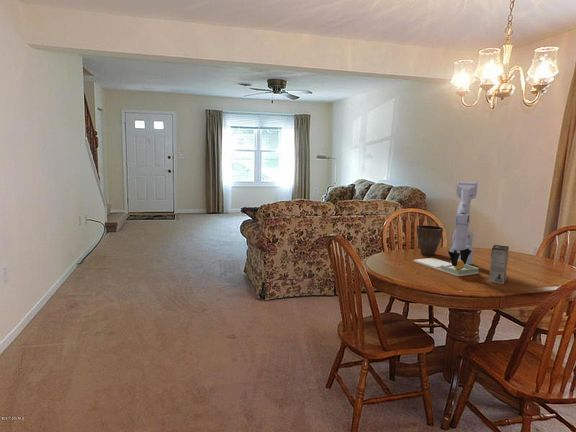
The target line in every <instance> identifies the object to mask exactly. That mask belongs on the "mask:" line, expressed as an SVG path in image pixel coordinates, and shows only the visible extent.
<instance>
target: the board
mask: <svg viewBox="0 0 576 432" xmlns="http://www.w3.org/2000/svg"><path fill="white" fill-rule="evenodd" d="M413 263H417V264H419V265H421V266H426V267H428V268H432V269H434V270H438V271H440V272H443V273H446V274H449V275H452V276H455V277H463V276H470V275H478V274H479V270H480V268H479V267H476V266H472V265H471V264H469V265H467V264H464V267H463V269H461V270H457V269H455V268H454V266H453V265H452V263H451V262H450V261H444V260H442V259H438V258H435V257H430V258H428V257H427V258H419V259H418V258H417V259H413Z"/></svg>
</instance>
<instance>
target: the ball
mask: <svg viewBox="0 0 576 432" xmlns="http://www.w3.org/2000/svg"><path fill="white" fill-rule="evenodd" d="M463 267H464V262H463V261H461V260H458V262H457V266H454V268H455V269H457V270H461V269H463Z"/></svg>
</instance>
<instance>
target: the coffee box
mask: <svg viewBox="0 0 576 432" xmlns="http://www.w3.org/2000/svg"><path fill="white" fill-rule="evenodd" d="M509 247H510V246H509V245H508V246H507V245H499V244H494V245H493V246H492V248H491V255H490V256H491V257H490V266H489V276H488V277H489V278H488V282H489V283H494V284H499V285H504V284H505V282H506V279H507V277H506V275H507V267H508V257H509V249H510V248H509Z"/></svg>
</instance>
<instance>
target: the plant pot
mask: <svg viewBox="0 0 576 432" xmlns="http://www.w3.org/2000/svg"><path fill="white" fill-rule="evenodd" d="M443 231H444V228H443V227H441V226H436V225H427V224H426V225H423V224H422V225H416V236H417V237H416V238H417V243H418V247H419V250H420V253H421V254H422V255H425V256H434V255H435V253H436V251H437V249H438V247H439V246H440V245H439V244H440V242H441V239H442V236H443Z"/></svg>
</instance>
